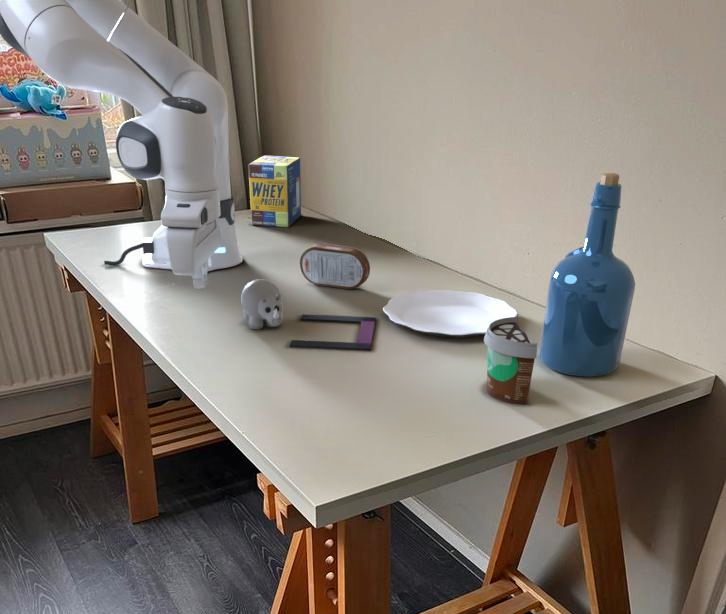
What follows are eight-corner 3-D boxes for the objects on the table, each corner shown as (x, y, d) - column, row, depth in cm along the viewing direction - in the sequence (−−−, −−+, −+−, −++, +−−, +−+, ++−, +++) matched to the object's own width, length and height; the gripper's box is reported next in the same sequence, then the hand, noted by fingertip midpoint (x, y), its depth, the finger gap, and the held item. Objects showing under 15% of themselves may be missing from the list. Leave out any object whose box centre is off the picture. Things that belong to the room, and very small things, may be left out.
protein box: (251, 225, 209) (247, 163, 201) (266, 213, 222) (263, 154, 214) (288, 227, 208) (287, 165, 200) (302, 215, 221) (300, 156, 213)
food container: (471, 376, 125) (477, 316, 120) (509, 375, 125) (516, 315, 120) (488, 409, 114) (495, 345, 109) (529, 408, 115) (538, 344, 110)
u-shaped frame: (289, 347, 134) (289, 344, 134) (302, 316, 148) (302, 314, 148) (370, 350, 133) (370, 348, 133) (375, 319, 147) (375, 317, 147)
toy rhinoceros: (256, 343, 135) (254, 295, 131) (238, 321, 145) (235, 276, 140) (295, 338, 138) (294, 291, 133) (275, 316, 147) (273, 272, 143)
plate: (442, 291, 163) (442, 282, 162) (542, 321, 148) (543, 312, 147) (356, 317, 148) (356, 308, 147) (458, 355, 132) (459, 344, 132)
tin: (370, 288, 163) (371, 247, 159) (365, 292, 161) (366, 251, 157) (304, 280, 168) (303, 240, 163) (298, 284, 165) (297, 244, 161)
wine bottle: (630, 379, 125) (672, 182, 109) (550, 380, 124) (581, 182, 108) (601, 347, 137) (636, 166, 121) (527, 348, 136) (553, 165, 120)
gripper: (191, 192, 140) (198, 269, 147) (157, 218, 122) (166, 303, 130) (226, 193, 139) (231, 270, 147) (196, 219, 122) (204, 305, 129)
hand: (200, 286), depth 138 cm, fingers closed
